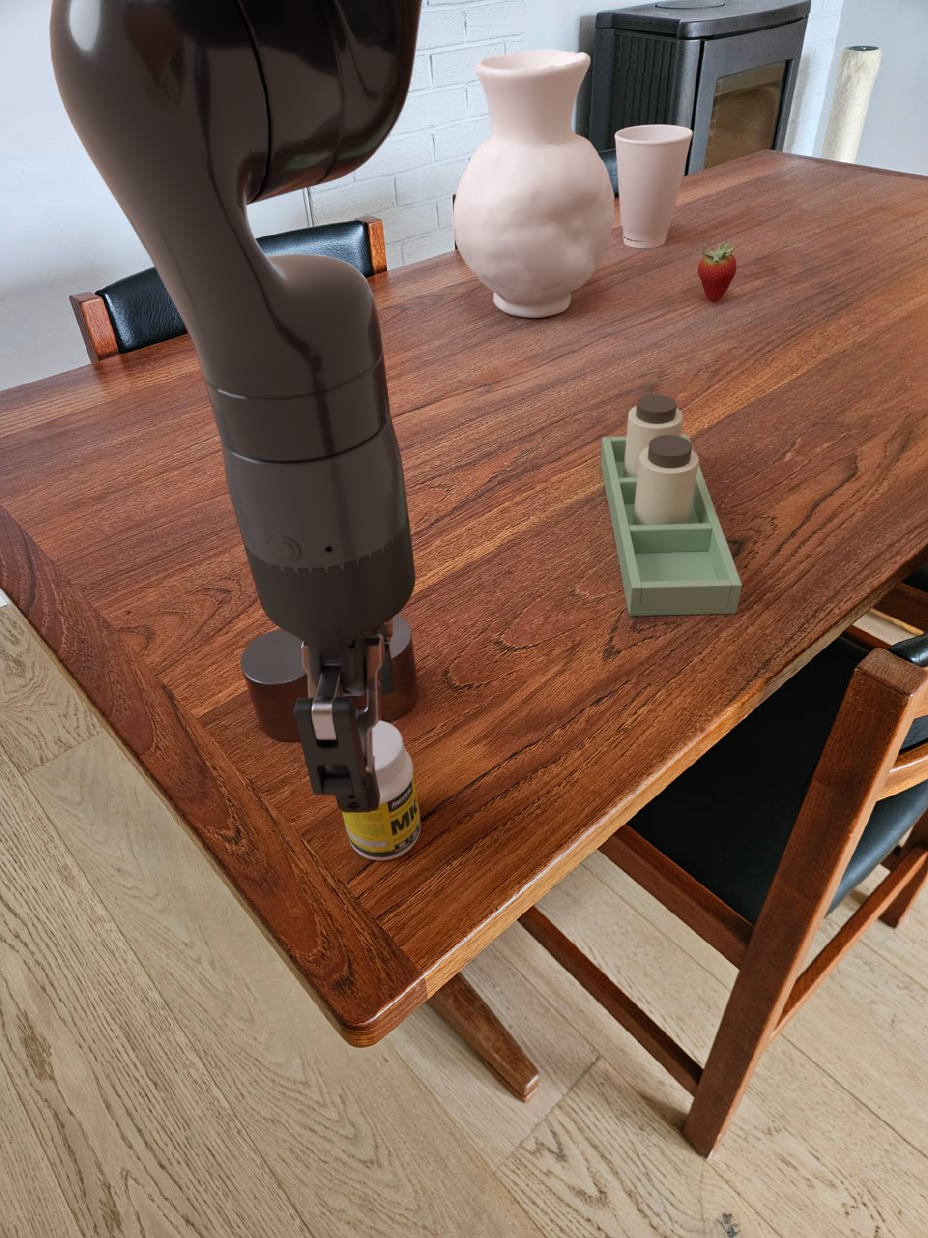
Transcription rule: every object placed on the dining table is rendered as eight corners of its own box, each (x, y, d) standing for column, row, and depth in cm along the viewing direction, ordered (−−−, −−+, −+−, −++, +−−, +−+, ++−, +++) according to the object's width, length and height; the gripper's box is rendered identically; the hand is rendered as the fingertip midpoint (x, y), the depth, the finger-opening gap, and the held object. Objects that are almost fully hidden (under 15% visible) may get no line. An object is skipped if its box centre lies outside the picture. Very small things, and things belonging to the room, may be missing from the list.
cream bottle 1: (679, 471, 82) (690, 394, 77) (667, 497, 79) (677, 419, 73) (630, 462, 84) (637, 387, 78) (616, 487, 81) (622, 411, 75)
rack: (684, 460, 85) (688, 433, 83) (736, 613, 67) (742, 585, 65) (600, 462, 85) (601, 436, 83) (629, 616, 67) (632, 587, 65)
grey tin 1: (348, 697, 62) (336, 639, 58) (308, 751, 58) (292, 692, 54) (286, 678, 64) (270, 620, 60) (243, 729, 60) (223, 671, 56)
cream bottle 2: (693, 515, 76) (706, 436, 71) (681, 545, 73) (693, 464, 68) (641, 505, 78) (649, 427, 73) (626, 534, 75) (633, 454, 69)
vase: (433, 310, 119) (413, 63, 99) (538, 271, 129) (539, 39, 109) (522, 346, 108) (521, 76, 88) (630, 300, 118) (650, 48, 98)
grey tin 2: (431, 679, 63) (424, 620, 59) (397, 731, 59) (387, 672, 55) (367, 661, 65) (357, 602, 61) (330, 710, 61) (316, 651, 57)
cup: (684, 252, 132) (697, 139, 122) (609, 253, 134) (615, 142, 123) (677, 229, 141) (689, 122, 131) (607, 231, 142) (613, 125, 132)
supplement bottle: (406, 871, 50) (390, 786, 45) (336, 852, 52) (313, 768, 46) (432, 808, 54) (420, 722, 48) (366, 792, 55) (347, 707, 50)
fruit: (685, 301, 117) (693, 242, 111) (709, 291, 119) (717, 232, 114) (715, 310, 114) (724, 249, 108) (739, 299, 116) (749, 239, 111)
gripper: (391, 615, 31) (426, 852, 42) (418, 429, 42) (440, 657, 53) (197, 618, 32) (281, 852, 42) (273, 433, 42) (324, 658, 53)
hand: (369, 744), depth 48 cm, fingers open, 8 cm apart
